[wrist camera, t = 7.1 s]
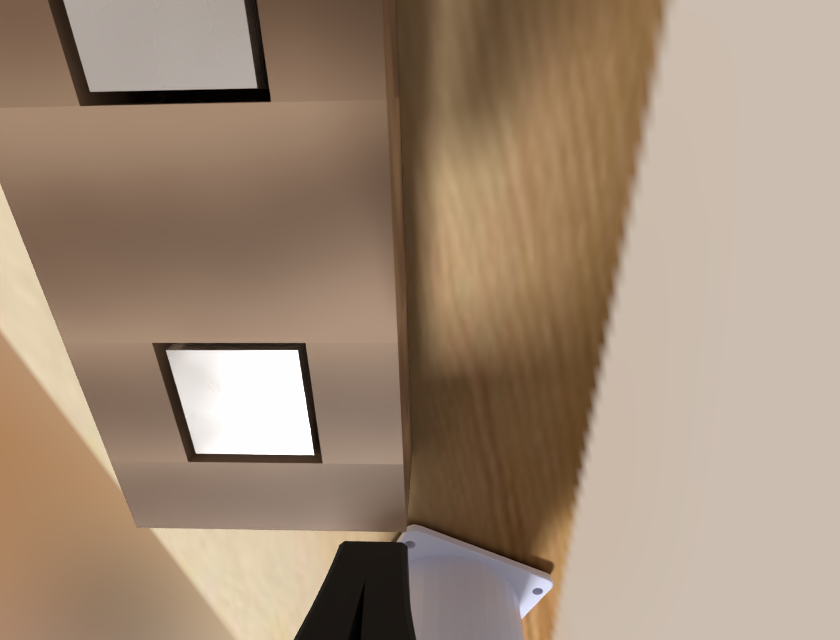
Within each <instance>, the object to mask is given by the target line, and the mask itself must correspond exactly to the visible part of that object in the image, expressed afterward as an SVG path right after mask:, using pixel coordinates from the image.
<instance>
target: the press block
mask: <svg viewBox="0 0 840 640" xmlns="http://www.w3.org/2000/svg"><path fill="white" fill-rule="evenodd" d="M257 5H258V12H259V19H260V26H261V34H262V41H263V48H264V55H265V62H266V69H267V76H268V83H269V90H270V97H271V99H251V100H203V101H166V97H165V93H164V91H108V92H90V90H89V86H88V83H87V80H86V76H85V73H84V69H83V66H82V62H81V59H80V56H79V52H78V49H77V45H76V42H75V38H74V35H73V32H72V28H71V25H70V21H69V18H68V15H67V11H66V8H65V4H64V1H63V0H0V184H1V186H2V189H3V191H4V194H5V196H6V199H7V201H8V204H9V206H10V209H11V211H12V214H13V217H14V219H15V222H16V224H17V227H18V229H19V232H20V234H21V237H22V239H23V242H24V244H25V247H26V249H27V252H28V254H29V257H30V259H31V262H32V264H33V267H34V269H35V272H36V275H37V277H38V280H39V282H40V285H41V287H42V290H43V292H44V295H45V297H46V300H47V302H48V305H49V307H50V310H51V312H52V315H53V317H54V320H55V322H56V325H57V327H58V330H59V333H60V335H61V338H62V340H63V343H64V345H65V348H66V350H67V353H68V355H69V358H70V360H71V363H72V365H73V368H74V370H75V373H76V375H77V378H78V380H79V383H80V385H81V388H82V391H83V393H84V396H85V398H86V401H87V403H88V406H89V408H90V411H91V413H92V416H93V418H94V421H95V423H96V426H97V428H98V431H99V433H100V436H101V438H102V441H103V444H104V446H105V449H106V451H107V454H108V456H109V459H110V461H111V464H112V466H113V469H114V471H115V474H116V476H117V479H118V481H119V484H120V486H121V489H122V491H123V494H124V496H125V499H126V502H127V504H128V506H129V509H130V511H131V514H132V517H133V519H134V522H135V524H136V527H137V528H193V529H252V530H312V531H371V532H406V531H407V517H408V504H409V490H410V476H411V463H412V439H411V410H410V381H409V353H408V324H407V295H406V266H405V237H404V209H403V180H402V151H401V122H400V94H399V65H398V36H397V7H396V0H257ZM173 343H306V349H307V356H308V363H309V370H310V377H311V385H312V392H313V399H314V406H315V413H316V420H317V427H318V434H319V440H318V443H317V446H316V449H315V452H314V455H292V454H196V452H195V448H194V445H193V441H192V438H191V435H190V431H189V428H188V424H187V421H186V417H185V414H184V411H183V407H182V404H181V400H180V397H179V393H178V390H177V386H176V383H175V380H174V376H173V373H172V369H171V366H170V362H169V359H168V356H167V352H166V350H167V349H168V348H169V347H170V346H171V345H172V344H173Z"/></svg>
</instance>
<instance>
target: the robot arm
mask: <svg viewBox="0 0 840 640" xmlns="http://www.w3.org/2000/svg"><path fill="white" fill-rule="evenodd" d="M552 586H553V581H552V577H551V575H550V574H548V573H546V572H543V571H540V570H538V569H535V568H532V567H530V566H527V565H524V564H522V563H519V562H516V561H514V560H511V559H508V558H506V557H503V556H500V555H497V554H495V553H492V552H489V551H487V550H484V549H481V548H479V547H476V546H473V545H471V544H468V543H465V542H463V541H460V540H457V539H455V538H452V537H449V536H447V535H444V534H441V533H439V532H436V531H433V530H431V529H428V528H425V527H423V526H420V525H416V524H414V525H410V526H407V531H406V532H403V533H402V534H401V536H400V537H399V538H398V540H397V541H396V542H360V541H344V542H343V543H342V544H340V545H339V548H338V550H337V553H336V555H335V558H334V560H333V563H332V565H331V567H330V569H329V572H328V574H327V576H326V578H325V580H324V582H323V584H322V587H321V589H320V591H319V593H318V595H317V597H316V599H315V601H314V603H313V605H312V607H311V609H310V611H309V612H308V614H307V616H306V618H305V620H304V622H303V624H302V625H301V627H300V629H299V631H298V633H297V635H296V636H295V638H294V640H524V633H523V627H522V620H521V619H522V618H523V617H524V616H525V615H526V614H527V613H528V612H529V611H530V610H531V609H532V608H533V607H534V606H535V605H536V604H537V603H538V602H539V600H540V599H541V598H542V597H543V596H544V595H545V594H546V593H547V592H548V591H549V590H550V589H551V588H552Z"/></svg>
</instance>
